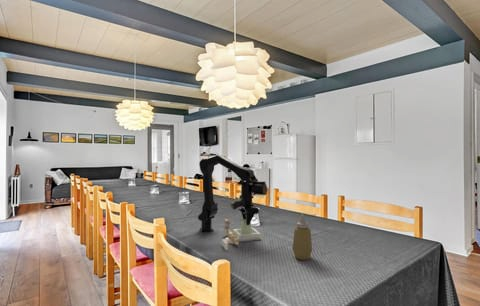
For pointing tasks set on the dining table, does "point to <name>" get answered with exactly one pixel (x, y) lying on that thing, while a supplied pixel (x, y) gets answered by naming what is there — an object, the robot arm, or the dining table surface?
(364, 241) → the dining table surface
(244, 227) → the block
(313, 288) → the dining table surface
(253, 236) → the tray
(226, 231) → the crank
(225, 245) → the crank housing
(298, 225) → the squeeze bottle
